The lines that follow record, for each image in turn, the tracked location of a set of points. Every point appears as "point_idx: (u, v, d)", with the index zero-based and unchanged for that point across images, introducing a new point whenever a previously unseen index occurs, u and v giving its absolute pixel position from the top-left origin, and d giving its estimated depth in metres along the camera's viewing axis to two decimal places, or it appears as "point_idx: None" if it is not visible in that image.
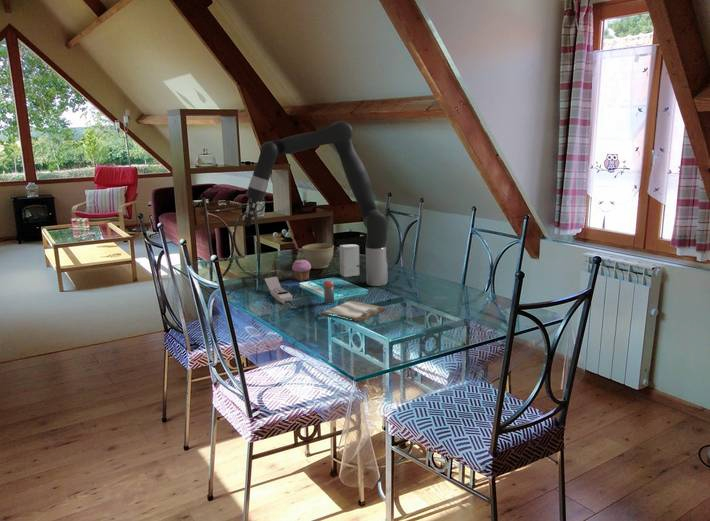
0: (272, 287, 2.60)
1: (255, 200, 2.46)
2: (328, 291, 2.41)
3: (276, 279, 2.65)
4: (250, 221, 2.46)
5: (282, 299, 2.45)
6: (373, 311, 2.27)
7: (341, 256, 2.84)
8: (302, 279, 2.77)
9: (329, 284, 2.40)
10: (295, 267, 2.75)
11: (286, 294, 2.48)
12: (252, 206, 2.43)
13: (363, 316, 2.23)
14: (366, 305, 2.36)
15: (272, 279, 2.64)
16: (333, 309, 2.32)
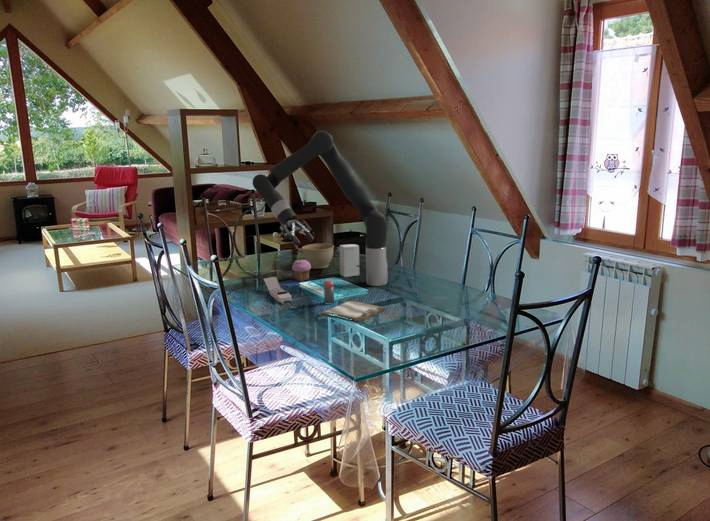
0: (271, 287, 2.60)
1: (284, 222, 2.45)
2: (328, 291, 2.41)
3: (275, 279, 2.65)
4: (295, 238, 2.42)
5: (281, 299, 2.45)
6: (373, 311, 2.27)
7: (341, 256, 2.84)
8: (302, 279, 2.77)
9: (329, 284, 2.40)
10: (295, 267, 2.75)
11: (285, 294, 2.48)
12: (281, 229, 2.42)
13: (363, 316, 2.23)
14: (366, 305, 2.36)
15: (271, 279, 2.64)
16: (333, 309, 2.32)
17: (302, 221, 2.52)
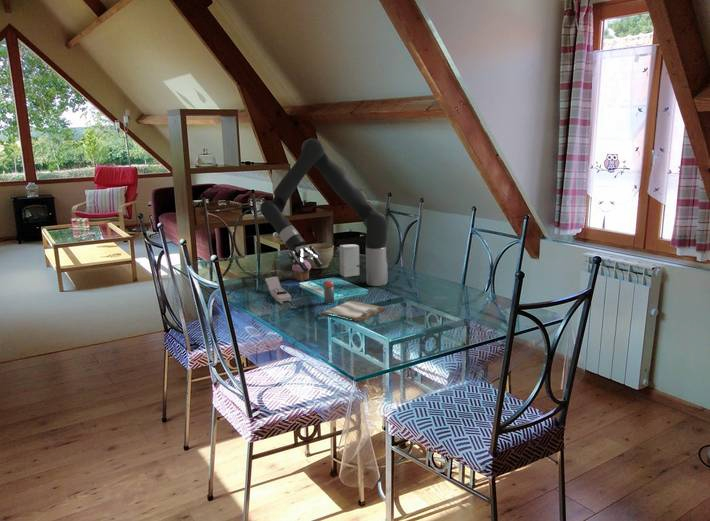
0: (272, 287, 2.61)
1: (292, 248, 2.45)
2: (328, 291, 2.41)
3: (276, 279, 2.65)
4: (304, 265, 2.42)
5: (280, 299, 2.45)
6: (373, 311, 2.27)
7: (341, 256, 2.84)
8: (302, 279, 2.77)
9: (329, 284, 2.40)
10: (295, 267, 2.75)
11: (285, 294, 2.48)
12: (290, 255, 2.43)
13: (363, 316, 2.23)
14: (366, 305, 2.36)
15: (272, 279, 2.65)
16: (333, 309, 2.32)
17: (310, 246, 2.52)
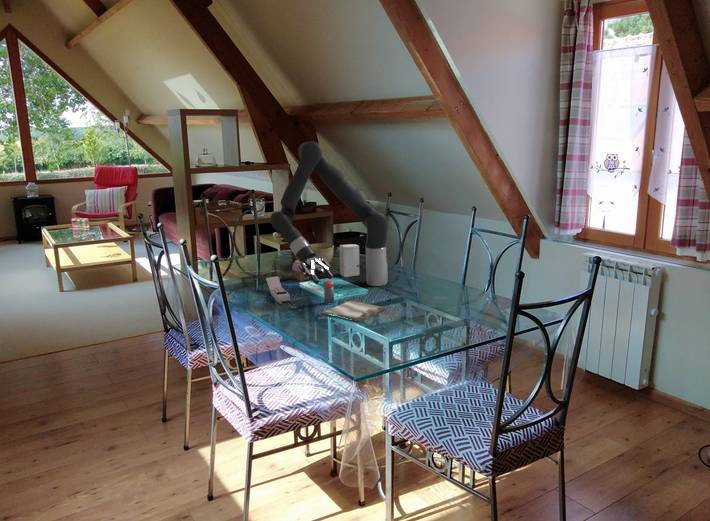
0: (272, 287, 2.61)
1: (303, 260, 2.43)
2: (328, 291, 2.41)
3: (277, 279, 2.65)
4: (315, 277, 2.40)
5: (280, 299, 2.45)
6: (373, 311, 2.27)
7: (341, 256, 2.84)
8: (302, 279, 2.77)
9: (329, 284, 2.40)
10: (295, 267, 2.75)
11: (284, 294, 2.48)
12: (300, 267, 2.40)
13: (363, 316, 2.23)
14: (366, 305, 2.36)
15: (273, 279, 2.65)
16: (333, 309, 2.32)
17: (321, 258, 2.49)
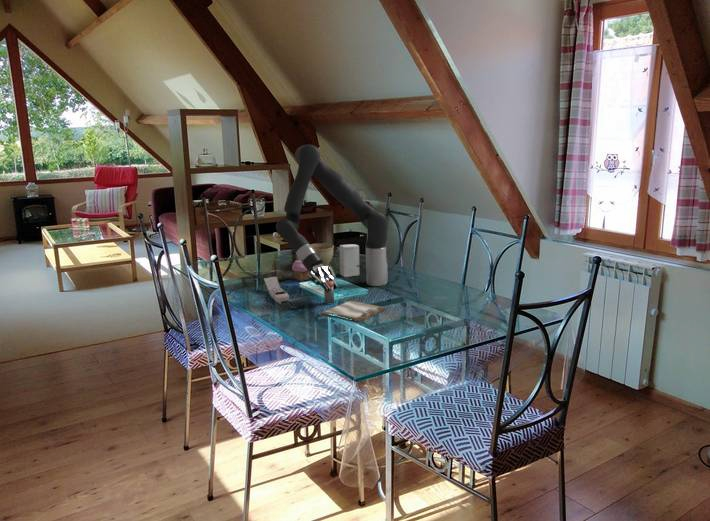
0: (271, 287, 2.61)
1: (310, 267, 2.41)
2: None
3: (275, 279, 2.65)
4: (326, 285, 2.39)
5: (279, 299, 2.45)
6: (373, 311, 2.27)
7: (341, 256, 2.84)
8: (302, 279, 2.77)
9: (329, 284, 2.40)
10: (295, 267, 2.75)
11: (283, 294, 2.48)
12: (310, 277, 2.39)
13: (363, 316, 2.23)
14: (366, 305, 2.36)
15: (271, 279, 2.65)
16: (333, 309, 2.32)
17: (328, 267, 2.48)
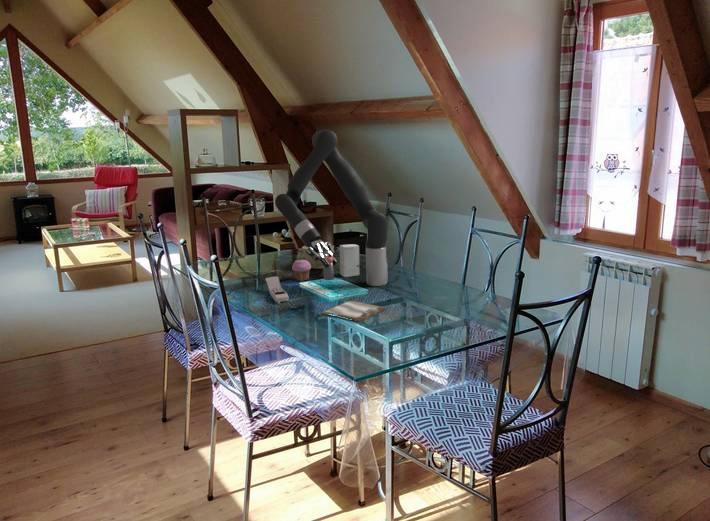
0: (272, 287, 2.61)
1: (308, 243, 2.39)
2: None
3: (277, 279, 2.65)
4: (325, 260, 2.37)
5: (278, 299, 2.45)
6: (373, 311, 2.27)
7: (341, 256, 2.84)
8: (302, 279, 2.77)
9: (328, 260, 2.38)
10: (295, 267, 2.75)
11: (283, 294, 2.48)
12: (309, 253, 2.37)
13: (363, 316, 2.23)
14: (366, 305, 2.36)
15: (272, 279, 2.65)
16: (333, 309, 2.32)
17: (327, 243, 2.45)
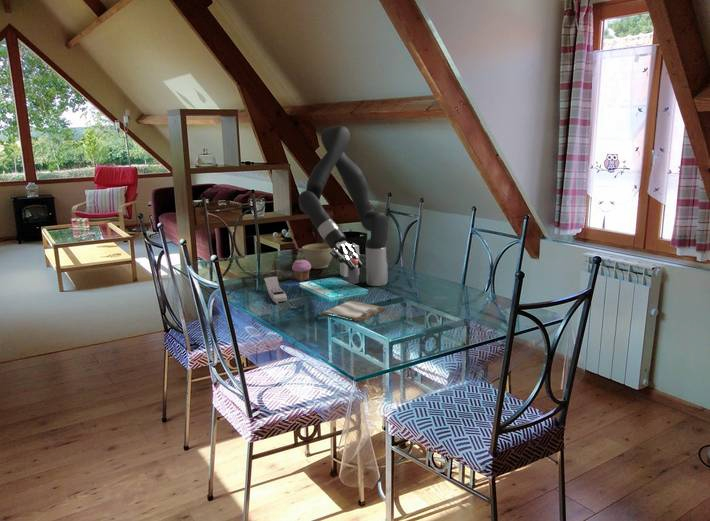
0: (270, 287, 2.61)
1: (333, 244, 2.26)
2: (352, 270, 2.25)
3: (276, 279, 2.65)
4: (350, 263, 2.24)
5: (276, 299, 2.45)
6: (373, 311, 2.27)
7: None
8: (302, 279, 2.77)
9: (353, 262, 2.25)
10: (295, 267, 2.75)
11: (281, 294, 2.48)
12: (333, 254, 2.24)
13: (363, 316, 2.23)
14: (366, 305, 2.36)
15: (271, 279, 2.65)
16: (333, 309, 2.32)
17: (352, 244, 2.32)
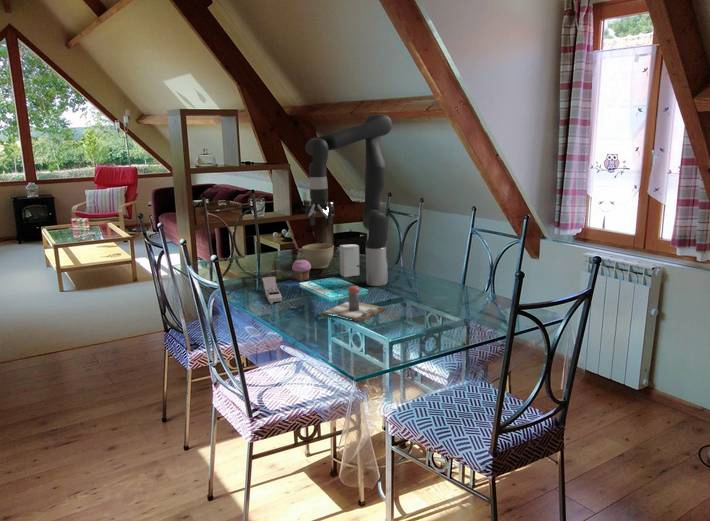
0: (268, 287, 2.61)
1: (326, 199, 2.45)
2: (353, 297, 2.28)
3: (274, 279, 2.65)
4: None
5: (271, 299, 2.45)
6: (373, 311, 2.27)
7: (341, 256, 2.84)
8: (302, 279, 2.77)
9: (355, 290, 2.27)
10: (295, 267, 2.75)
11: (276, 295, 2.48)
12: (331, 206, 2.43)
13: (363, 316, 2.23)
14: (366, 305, 2.36)
15: (269, 279, 2.65)
16: (333, 309, 2.32)
17: None
